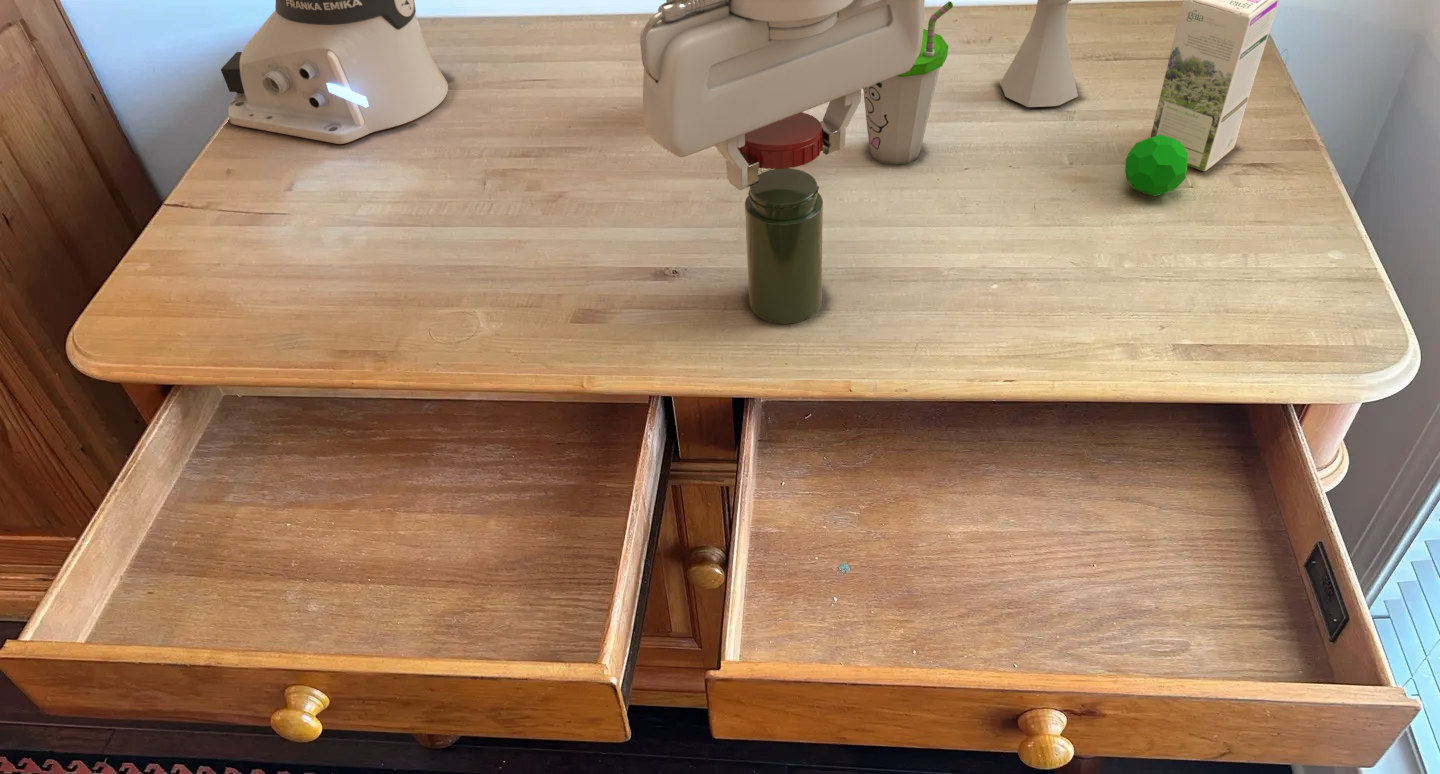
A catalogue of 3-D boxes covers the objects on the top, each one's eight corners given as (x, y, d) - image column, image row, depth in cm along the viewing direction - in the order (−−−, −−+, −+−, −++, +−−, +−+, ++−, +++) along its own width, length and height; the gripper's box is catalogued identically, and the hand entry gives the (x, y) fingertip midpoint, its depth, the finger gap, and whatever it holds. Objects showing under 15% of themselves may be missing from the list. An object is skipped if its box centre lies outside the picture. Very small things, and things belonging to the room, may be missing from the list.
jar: (743, 321, 80) (737, 204, 73) (755, 277, 84) (750, 163, 77) (817, 326, 79) (818, 209, 72) (825, 282, 83) (827, 166, 76)
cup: (837, 142, 99) (841, -16, 89) (911, 124, 101) (923, -34, 91) (876, 182, 93) (884, 18, 83) (953, 162, 95) (971, -1, 85)
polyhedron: (1109, 192, 90) (1120, 143, 87) (1135, 168, 93) (1147, 119, 90) (1165, 212, 88) (1179, 162, 84) (1190, 187, 90) (1205, 137, 87)
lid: (838, 142, 74) (839, 119, 73) (793, 177, 70) (793, 153, 69) (761, 125, 77) (761, 102, 76) (714, 157, 72) (713, 134, 71)
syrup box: (1236, 148, 94) (1285, -12, 85) (1203, 175, 91) (1251, 12, 82) (1176, 128, 97) (1217, -29, 88) (1143, 153, 95) (1182, -7, 85)
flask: (1051, 70, 107) (1067, -29, 101) (1090, 101, 102) (1111, -1, 95) (987, 83, 106) (999, -16, 99) (1023, 115, 101) (1039, 14, 94)
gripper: (667, 30, 58) (685, 239, 67) (947, -62, 65) (928, 137, 75) (610, -6, 62) (635, 196, 71) (881, -89, 69) (871, 103, 79)
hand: (787, 165), depth 73 cm, fingers closed on lid, 6 cm apart
